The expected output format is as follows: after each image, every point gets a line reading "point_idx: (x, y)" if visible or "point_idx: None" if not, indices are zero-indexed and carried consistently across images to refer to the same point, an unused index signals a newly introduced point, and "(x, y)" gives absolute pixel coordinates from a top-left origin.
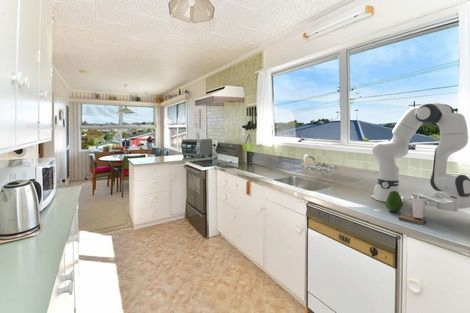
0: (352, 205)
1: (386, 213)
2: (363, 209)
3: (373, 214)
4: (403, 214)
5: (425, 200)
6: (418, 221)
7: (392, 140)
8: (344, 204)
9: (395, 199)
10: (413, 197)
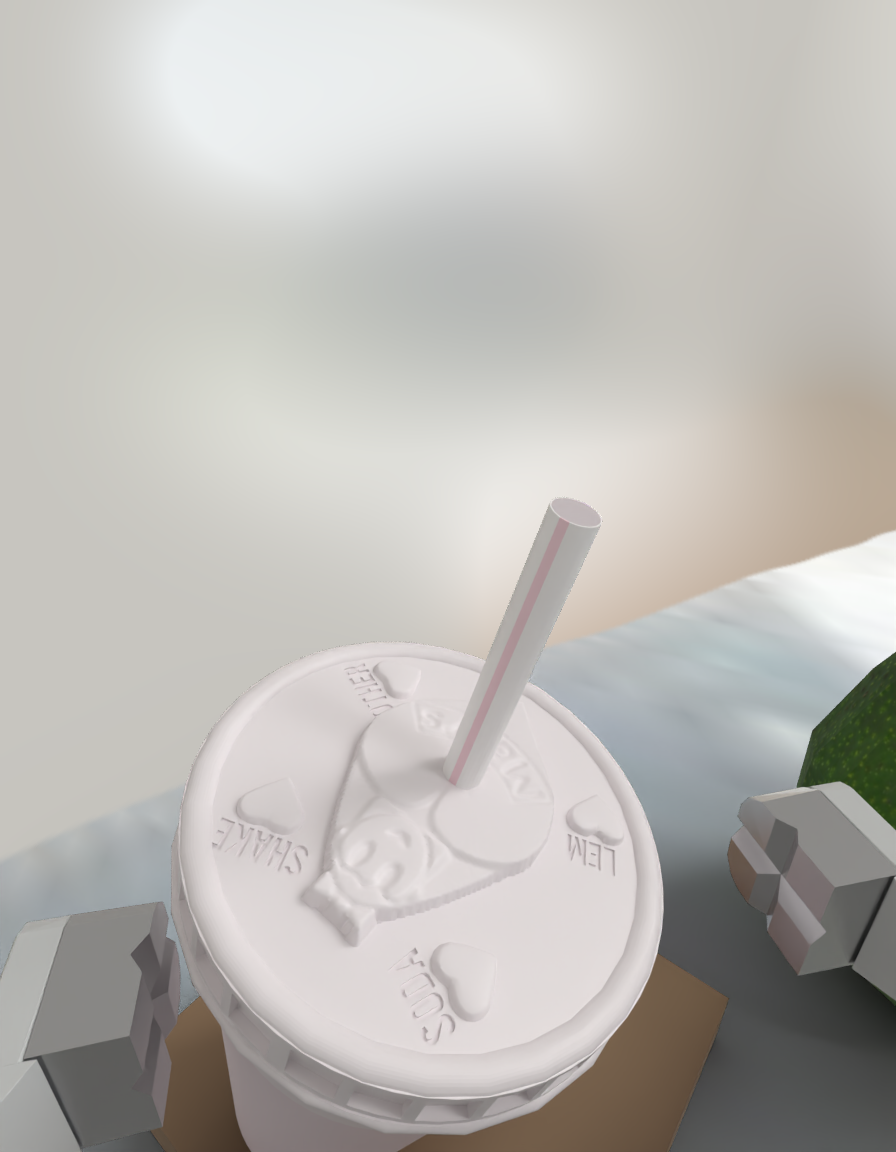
0: (848, 609)
1: (694, 803)
2: (740, 646)
3: (574, 669)
4: None
5: (179, 883)
6: (187, 1013)
7: None
8: (834, 573)
9: (865, 710)
10: (770, 821)
